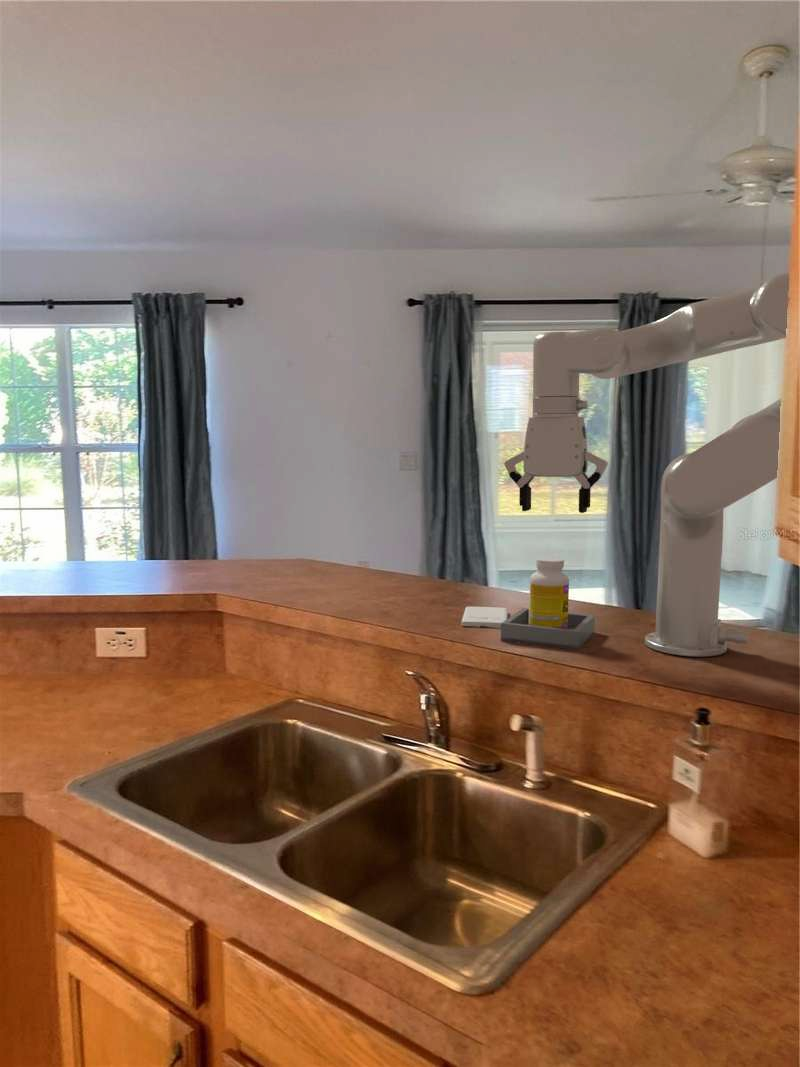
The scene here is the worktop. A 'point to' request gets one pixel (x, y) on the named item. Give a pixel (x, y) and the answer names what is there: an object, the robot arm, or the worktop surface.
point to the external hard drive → (484, 616)
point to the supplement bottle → (549, 594)
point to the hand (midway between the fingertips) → (554, 511)
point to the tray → (548, 631)
